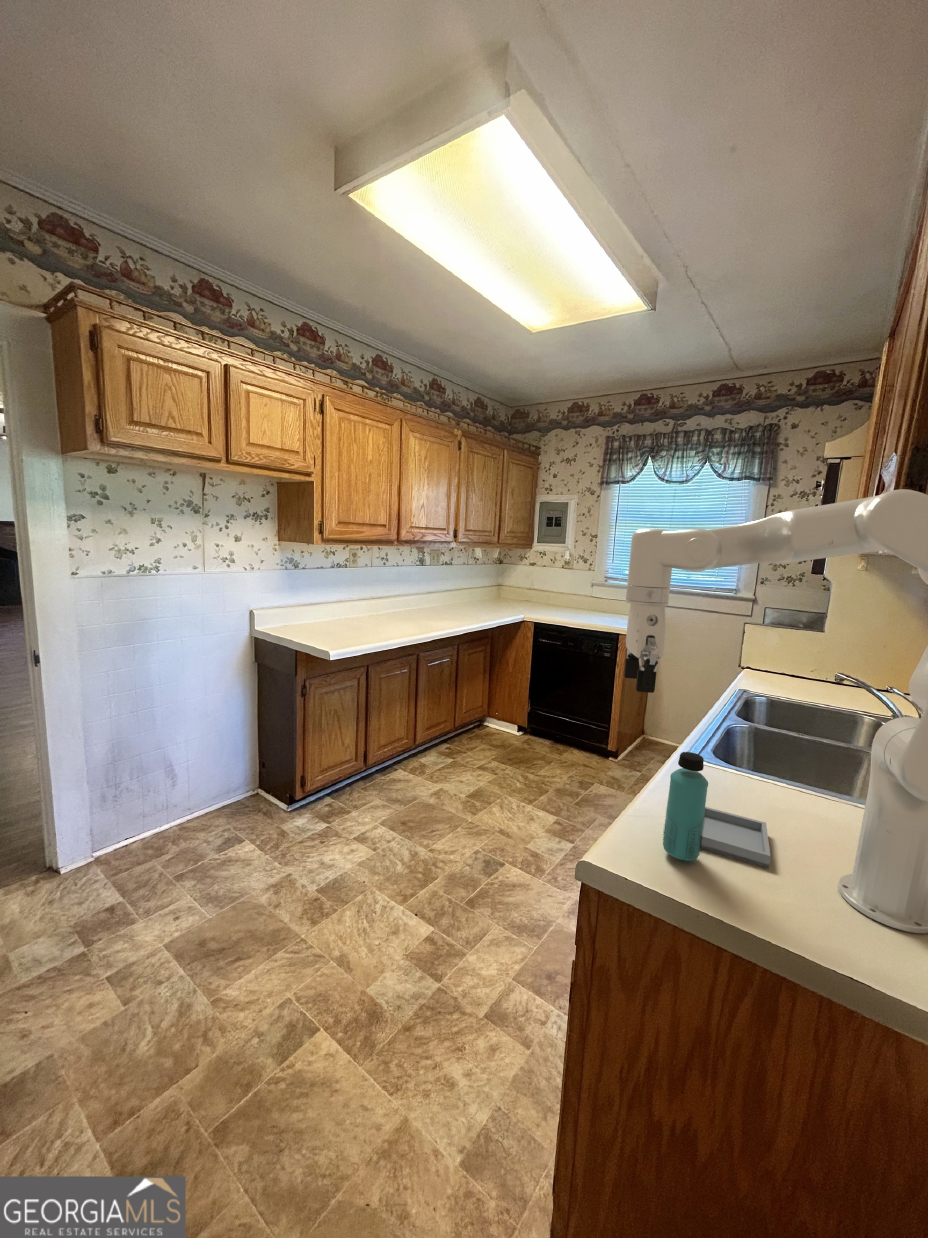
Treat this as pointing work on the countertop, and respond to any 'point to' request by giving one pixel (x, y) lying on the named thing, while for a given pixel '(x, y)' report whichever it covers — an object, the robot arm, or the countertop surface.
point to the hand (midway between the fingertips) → (638, 684)
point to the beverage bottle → (686, 808)
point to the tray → (736, 837)
